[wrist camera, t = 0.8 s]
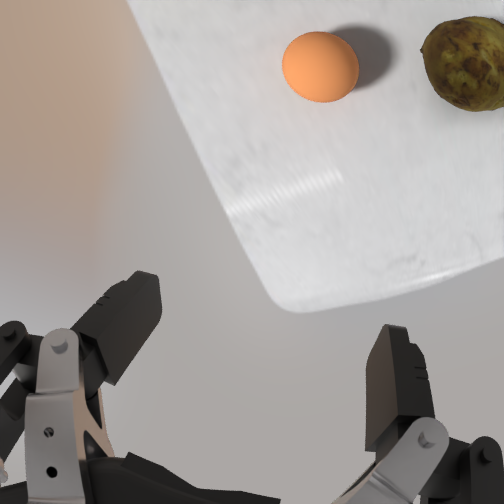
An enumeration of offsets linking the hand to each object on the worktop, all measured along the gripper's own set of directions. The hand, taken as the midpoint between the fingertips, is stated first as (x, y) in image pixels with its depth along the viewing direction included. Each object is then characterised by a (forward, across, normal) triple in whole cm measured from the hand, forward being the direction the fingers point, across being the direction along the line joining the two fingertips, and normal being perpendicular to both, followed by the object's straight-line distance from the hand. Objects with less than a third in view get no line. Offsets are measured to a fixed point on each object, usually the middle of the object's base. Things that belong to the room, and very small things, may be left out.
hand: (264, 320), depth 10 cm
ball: (+15, 0, -10) cm, 18 cm away
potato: (+18, -13, -14) cm, 26 cm away
